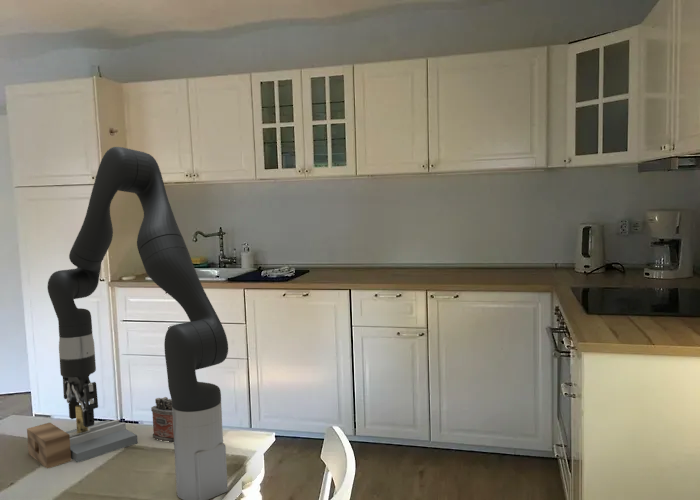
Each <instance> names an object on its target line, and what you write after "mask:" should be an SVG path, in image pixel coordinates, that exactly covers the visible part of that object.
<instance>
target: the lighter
mask: <svg viewBox="0 0 700 500" xmlns="http://www.w3.org/2000/svg"><path fill="white" fill-rule="evenodd" d="M150 408H151V412H152V413H151V414H152V425H153V426H152V427H153V428H152V430H153V434H152V438H155V439H154V440H156V439H158V440H157V441H159V440H162V441H161V442H164V441H169V442H168V443H172V442H174V434H173V414H172V400H171V398H168V396H164V397H156V398H155V405H154V406H151V407H150Z"/></svg>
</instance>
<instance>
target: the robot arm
mask: <svg viewBox="0 0 700 500" xmlns="http://www.w3.org/2000/svg"><path fill="white" fill-rule="evenodd" d="M118 191H119V192H124V193H125V192H126V193H133V194H135V195H136V196H137V198H138V199H139V201H140V204H141V207H142V211H143V218H142V222H141V225H140V227H139V230H138V233H137V239H136V246H137V250H138V251H137V252H138V254H139V257H140V260H141V261H142V262H141V263H142V265H143V267H144V270H145V272H146V275H147V276H148V277H149V278H150V279H151V281H153V283H155V284H156V285H157V286H158V287H159V288H160V289H161V290H162V291H164V292H165V293H166V294H168V295H169V296H170V297H171V298H173V299H174V300H175V301H176V302H177V303H178V304H179V305H180V307H181V308H182V309H183V311H184V313H186V315H187V318H188V320H189V321H186V322H183V323H176V324H173V325H171V326H169V327H168V329H167V330H166V331H165V332H166V333H165V336H164V346H163V347H164V358H165V367H166V374H167V385H168V386H167V387H168V391H169V394H170V399H171V400H172V414H173V434H174V443H173V448H174V449H173V451H174V466H175V467H174V468H175V483H176V484H175V485H176V495H177V497H178V498H179V499H181V500H211V499H213V498H216V497H217V496H220V495H222V494H224V493H226V492H228V489H229V488H228V471H227V453H226V452H227V447H226V444H225V443H224V435H223V434H224V432H223V430H224V429H223V410H222V409H223V408H222V392H221V388H220V387H219V386H218V385H216V384H214V383H211V382H210V383H209V382H204V381H198V379H197V374H196V373H197V372H196V371H197V370H201V369H205V368H208V367H213V366H216V365H220V364H221V363H224V361H225V360H226V359H227V357H228V354H229V342H228V338H227V333H226V331H225V328H224V326H223V324H222V322H221V320H220V318H219V316H218V315H217V312H216V310H215V309H214V307H213V305H212V303H211V301H210V299H209V297H208V295H207V293H206V291H205V289H204V287H203V285H202V282H201V281H200V277H199V276H198V274H197V273H198V272H197V271H196V268H195V266H194V263H193V260H192V258H191V255H190V251H189V250H188V246H187V245H186V242H185V240H184V237H183V235H182V233H181V230H180V228H179V226H178V223H177V221H176V217H175V215H174V212H173V209H172V206H171V204H170V201H169V197H168V194H167V191H166V187H165V184H164V179H163V175H162V171H161V169H160V166H159V164H158V161H157V159H155V158H154V156H152V154H149V153H147V152H144V151H141V150H140V151H139V150H135V149H133V148H128V147H121V146H113V147H110V148H109V149H107V151H106V152H105V153H104V155H103V156H102V158H101V160H100V162H99V166H98V169H97V173H96V175H95V179H94V182H93V186H92V190H91V194H90V198H89V202H88V207H87V209H86V213H85V216H84V220H83V223H82V225H81V227H80V230H79V232H78V233H77V236H76V238H75V240H74V242H73V244H72V247H71V249H70V251H69V255H68V259H69V261H70V262H71V264H73V266H75V267H76V268H71V269H63V270H60V269H59V270H56V271H54V272H53V273H52V274H51V275H50V276H49V278H48V280H47V293H48V297H49V298H50V301H51V304H52V306H53V310H54V312H55V315H56V317H57V321H58V334H59V335H58V336H59V340H58V353H59V369H60V370H59V371H60V376H61V377H62V386H63V392H62V393H63V400H66V403H67V404H68V414H69V417H68V418H69V419H71V420H74V419H75V420H76V410H75V406H77V405H81V407H82V410H83V425H84V426H85V427H89V426H93V425H94V424H95V413H94V410H95V409H98V408H99V400H98V387H97V383H96V381H93V382H91V380H90V375H92V374H94V373H95V372H96V370H97V366H96V352H95V351H96V350H95V349H96V348H95V341H94V335H93V323H92V313H91V312H90V310H89V309H87V308H78V306H77V305H76V302H75V300H78V299H83V298H87V297H89V296H91V295H92V294H93V293H94V292H95V291H96V290H97V288H98V286H99V281H100V273H101V268H102V263H103V260H104V258H105V256H106V255H107V252H108V250H109V249H110V246H111V244H112V241H113V234H114V229H113V222H112V217H111V205H112V201H113V199H114V198H115V196H116V194H117V192H118Z"/></svg>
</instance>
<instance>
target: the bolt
mask: <svg viewBox="0 0 700 500" xmlns="http://www.w3.org/2000/svg"><path fill="white" fill-rule="evenodd" d="M75 410H76V418H75V422H76V429H77V431H76V432H72V433H69V436H70V438H72V437H76V436H79V435H83V434H86V433H89V432H91V430H90V429H88V427H85V426H84V425H83V410H82V407H81V404H79V405H77V406H75Z"/></svg>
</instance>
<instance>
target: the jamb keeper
mask: <svg viewBox="0 0 700 500" xmlns="http://www.w3.org/2000/svg"><path fill="white" fill-rule="evenodd" d="M26 432H27V447H28V455H29V456H30V457H32V459H35V460H36V461H37V462H38V463H39V464H41V465H42V466H43V467H44V468H46V469H51V468H54V467H56V466H57V467H58V466H60V465H63V464H66V463H70V462H72V459H71V450H70V436H69V434H68V433H66V432H67V431H65V430H63V429H62V428H60V427H58V426H56V425H55V424H54V423H52V422H47V423H43V424H39V425H35V426H32V427H28V428H26Z"/></svg>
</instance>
